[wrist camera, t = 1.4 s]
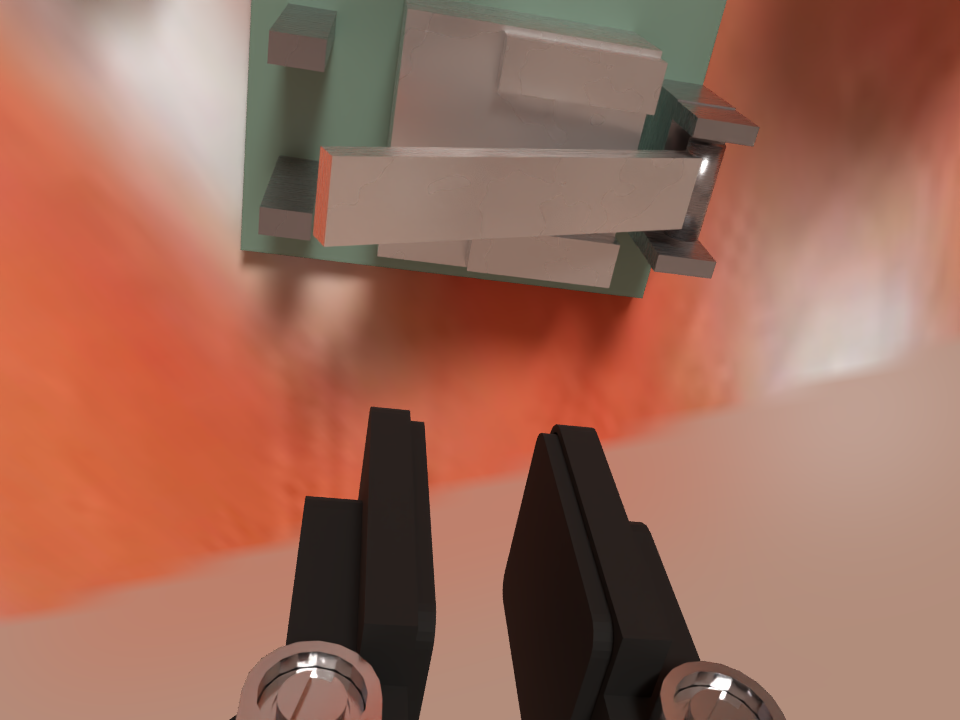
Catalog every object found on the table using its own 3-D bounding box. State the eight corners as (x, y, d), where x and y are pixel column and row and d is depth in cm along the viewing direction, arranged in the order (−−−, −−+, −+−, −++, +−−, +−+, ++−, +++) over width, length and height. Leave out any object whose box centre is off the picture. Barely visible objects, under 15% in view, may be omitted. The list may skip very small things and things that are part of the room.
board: (721, -19, 31) (731, -15, 30) (636, 288, 37) (642, 298, 36) (260, -104, 29) (255, -103, 28) (244, 240, 34) (240, 249, 34)
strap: (708, 136, 29) (733, 148, 28) (681, 227, 31) (705, 241, 30) (318, 127, 22) (336, 142, 21) (309, 246, 24) (325, 264, 23)
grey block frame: (714, 45, 31) (774, 79, 26) (655, 253, 35) (698, 317, 30) (290, -28, 29) (270, -5, 24) (275, 203, 33) (255, 264, 28)
